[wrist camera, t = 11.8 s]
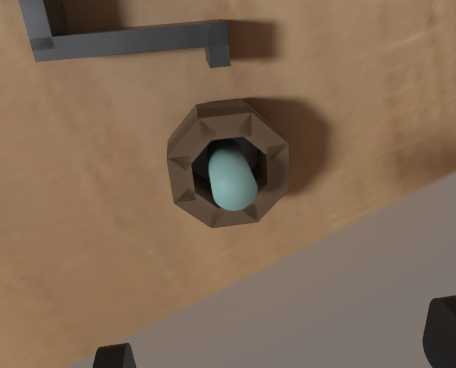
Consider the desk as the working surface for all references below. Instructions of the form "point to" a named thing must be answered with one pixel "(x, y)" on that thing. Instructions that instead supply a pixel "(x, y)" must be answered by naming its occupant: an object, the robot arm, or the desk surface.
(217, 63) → the bent rail
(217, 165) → the teal flanged peg
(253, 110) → the walnut ring
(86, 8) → the desk surface
